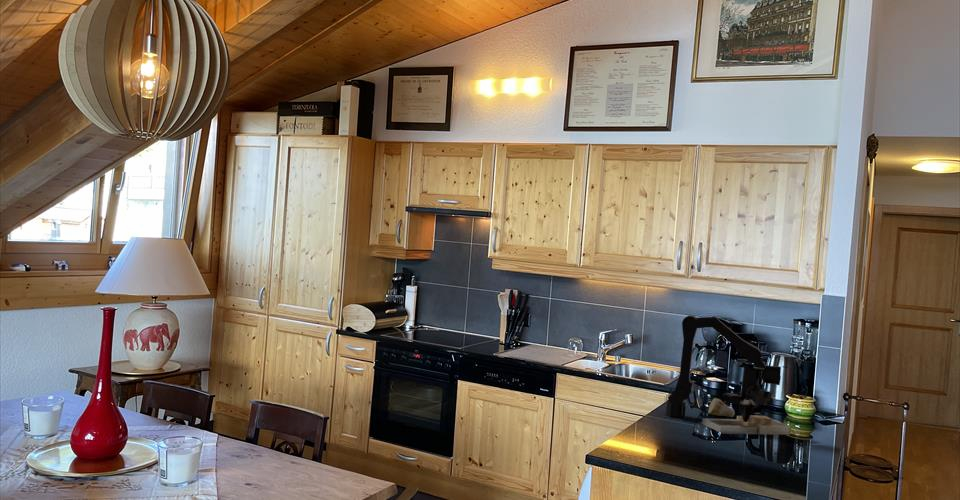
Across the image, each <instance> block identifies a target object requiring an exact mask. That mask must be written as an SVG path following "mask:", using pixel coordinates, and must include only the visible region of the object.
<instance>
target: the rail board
mask: <svg viewBox="0 0 960 500" xmlns="http://www.w3.org/2000/svg"><path fill="white" fill-rule="evenodd" d="M771 419H772V424H771V426H762V425H760V430H759V431H758V427H756V426H743V424H744V421H743V418H742V415H736V419H735V418H734V419H733V418H702V421H701V422H700V424H701V425H703V426H705V427H708V428H710V429H713V430H714V431H716V432H719V433H721V434H722V435H723V434H726V435H727V434H728V435H729V434H731V435H739V434H740V435H774V436H775V435H776V436H779V435H781V436H782V435H783V436H791V433H792V425H791V426H790V425H788V424H785V423H783V422H781V421H778V420H776V419H773V418H771Z"/></svg>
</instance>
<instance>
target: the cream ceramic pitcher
mask: <svg viewBox="0 0 960 500" xmlns="http://www.w3.org/2000/svg"><path fill="white" fill-rule="evenodd" d="M707 412H708V414H709V415H711V416H712V415H713V416H716V417H718V416H719V417H727V418H728V417H729V418H733V417H735V410H734V409H733V408H732V407H729V406H728V405H727V404H726V403H725V402H723V400H721V399H720V398H717V397H714V398H713V399H712V400H711V403H710V404H709V407H708V411H707Z"/></svg>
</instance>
